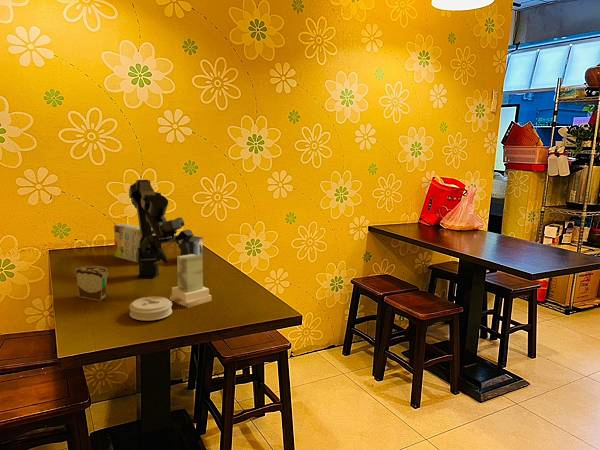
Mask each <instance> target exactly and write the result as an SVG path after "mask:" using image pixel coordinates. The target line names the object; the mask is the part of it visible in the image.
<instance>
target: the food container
mask: <svg viewBox="0 0 600 450" xmlns="http://www.w3.org/2000/svg"><path fill="white" fill-rule="evenodd" d="M74 275H76V282H77V285H76V286H77V291H78V298H84V299H88V300H94V301H97V302H102V301H104V300H105V299H106V295H107V281H108V277H109V276H110V273H109V271H108V268H107V267H105V266H102V265H100V266H99V265H86V266H79V267H75V270H74Z"/></svg>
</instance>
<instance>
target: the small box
mask: <svg viewBox="0 0 600 450" xmlns="http://www.w3.org/2000/svg"><path fill="white" fill-rule="evenodd" d="M203 240H204V237H202V236H196V235H193V237H192V238H191V239H190V241H189V251H190V254H194V255H198V256H201V257H203V258H204V256H203V254H204V253H203V245H204V244H203V243H204V241H203ZM183 255H185V254H184V253H183V252H182V251H181V250H180V256H183Z"/></svg>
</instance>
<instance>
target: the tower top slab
mask: <svg viewBox="0 0 600 450" xmlns="http://www.w3.org/2000/svg"><path fill="white" fill-rule="evenodd" d="M171 295H174V296H176V297H178V298H180V299H182V300H184V301H186V302H187V301H191V300H195V299H199V298H203V297H207V296H209V295H210V289H209V288H208V287H205V286H204V285H203V288H202V289H198V290H194V291H189V292H187V291H184V290H182V289H179V288H178V285H177V286H173V287H171Z"/></svg>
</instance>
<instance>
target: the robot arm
mask: <svg viewBox="0 0 600 450" xmlns="http://www.w3.org/2000/svg"><path fill="white" fill-rule="evenodd" d="M128 197H129V199H130V201H131V204H132V205H133V206H134V207H135V208H136V212H137V213H136V214H137V220H138V226H139V228H140V234H141V240H140V242H139V245H138V248H137V252H136V261H137V262H138V263H137V262H136V263H137V264H138V273H139V274H138V275H137V278H139V279H140V278H141V279H143V278H144V279H154V278H156V277H158V276H159V275H160V271H159V269H160V268H159V267H160V266H159V264H158V262H161V261H162V262H163V263H165V264H168V263H169V260H168V259H169V258H168V256H167V255H166V253H165V251H164V250H163V248H162V244H168V243H174V242H176V244H177V245H178V248H179V250H180V252H181V251H182V252H183V253H184V254H185V255H189V254H190V251H189V241H190V239H191V238H192V237H193V236H194V233H193V231H192V230H191V229H186V230H181V231H180V232H179V233H178V234H177V232H178V230H179V229H182V228H183V227H184V226H185V221H184V219H183V218H182V217H181V216H179V217H177V218H175V219H171V220H170V219H169V220H167V219H166V217H165V215H166V212H167V209H168V206H169V200H168V199H167V198H166V196H164V195H162V193H161V192H157V191H155V190H154V188H153V187H152V185H151V180H150V179H136V181H135V182H134V183H133V184H131V185H129V188H128ZM152 234H154V235H152ZM176 234H177V235H176Z"/></svg>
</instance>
